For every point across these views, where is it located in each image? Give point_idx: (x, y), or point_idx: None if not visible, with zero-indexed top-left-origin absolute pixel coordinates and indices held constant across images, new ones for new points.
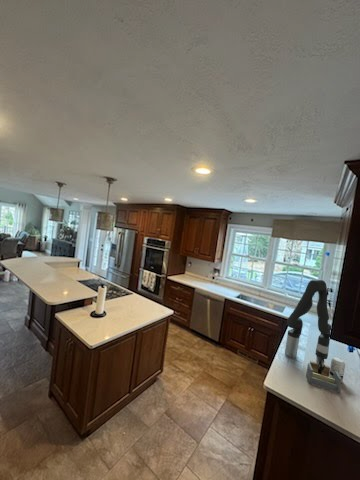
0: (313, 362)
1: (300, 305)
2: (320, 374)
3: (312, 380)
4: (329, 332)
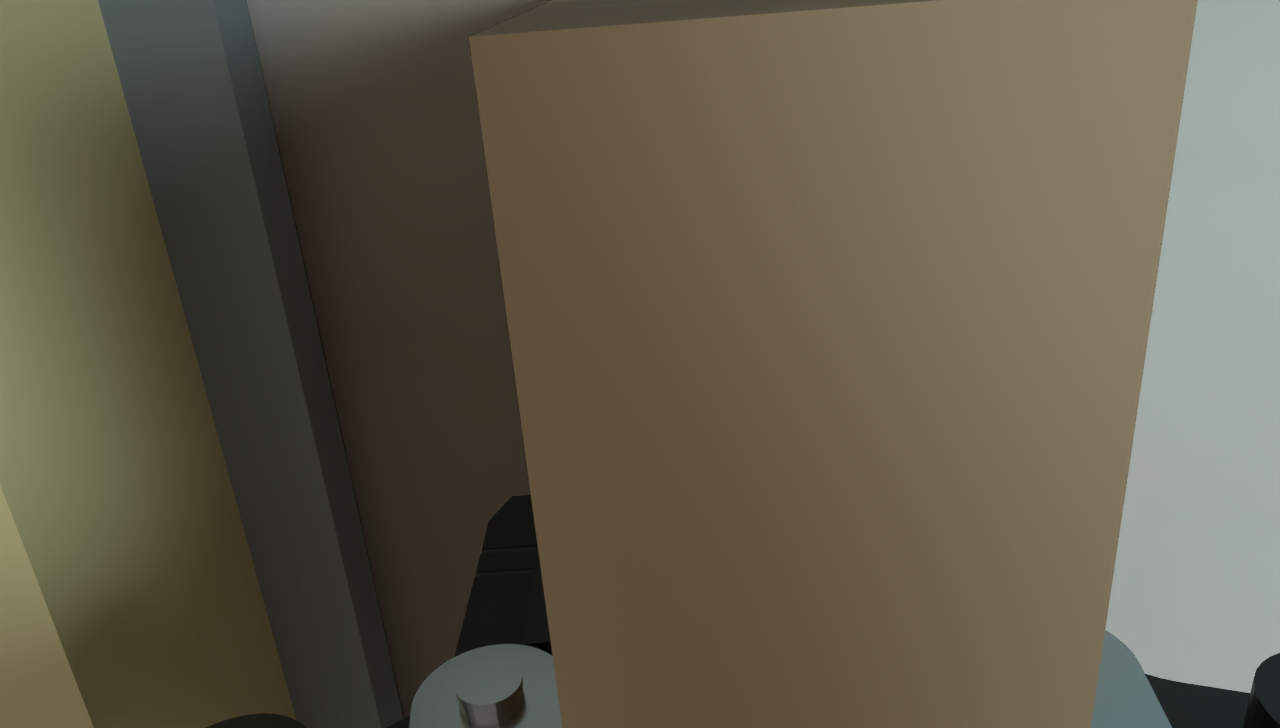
0: (862, 450)
1: None
2: None
3: None
4: None
